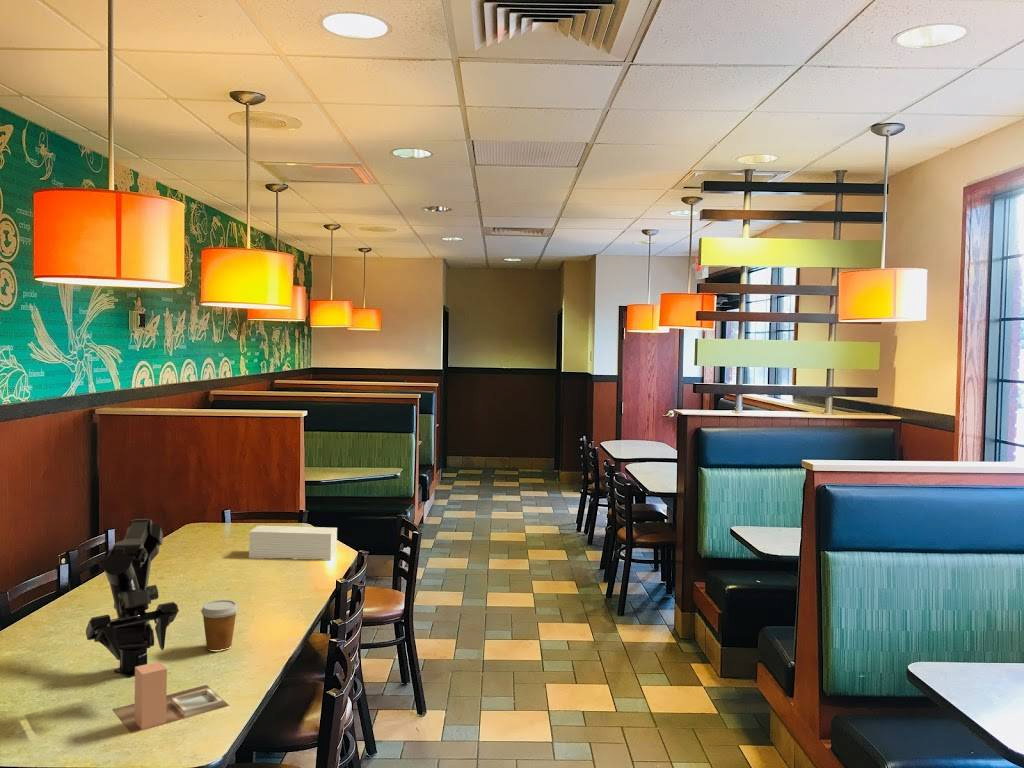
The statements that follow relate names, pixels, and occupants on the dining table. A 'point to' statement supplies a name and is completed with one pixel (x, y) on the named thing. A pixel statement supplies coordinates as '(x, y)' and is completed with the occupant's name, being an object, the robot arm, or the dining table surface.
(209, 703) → the baseboard
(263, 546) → the stack of papers
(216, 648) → the disposable coffee cup
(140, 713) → the pillar
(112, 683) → the dining table surface
